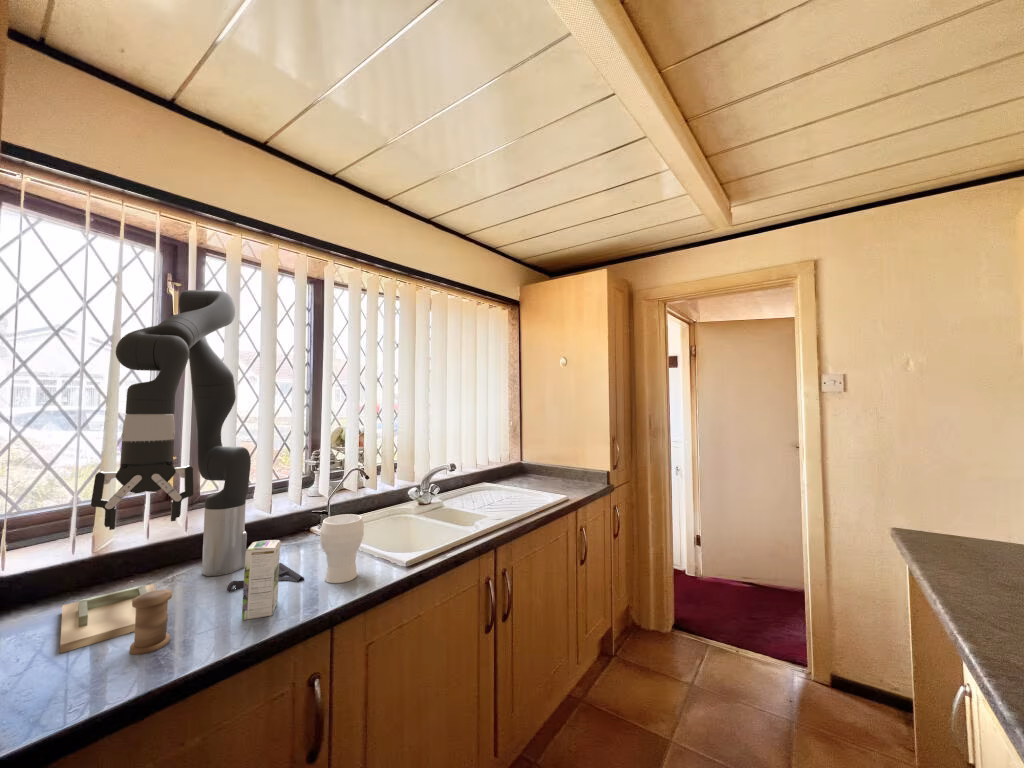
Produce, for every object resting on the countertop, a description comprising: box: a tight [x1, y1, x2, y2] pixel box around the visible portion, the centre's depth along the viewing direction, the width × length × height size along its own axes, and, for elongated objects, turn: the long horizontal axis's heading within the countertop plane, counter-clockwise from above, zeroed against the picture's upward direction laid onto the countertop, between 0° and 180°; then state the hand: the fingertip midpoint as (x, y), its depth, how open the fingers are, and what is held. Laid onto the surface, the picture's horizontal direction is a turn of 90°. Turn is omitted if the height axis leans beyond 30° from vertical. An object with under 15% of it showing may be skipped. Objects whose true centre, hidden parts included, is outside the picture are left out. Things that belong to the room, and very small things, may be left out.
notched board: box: [59, 583, 169, 654], centre depth 87 cm, size 15×21×4 cm
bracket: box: [226, 562, 305, 593], centre depth 104 cm, size 14×15×3 cm
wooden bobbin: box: [129, 589, 173, 656], centre depth 77 cm, size 6×6×9 cm
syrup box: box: [241, 539, 281, 621], centre depth 89 cm, size 6×6×14 cm
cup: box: [319, 513, 365, 584], centre depth 107 cm, size 11×11×15 cm
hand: (143, 524), depth 77 cm, fingers open, 8 cm apart
